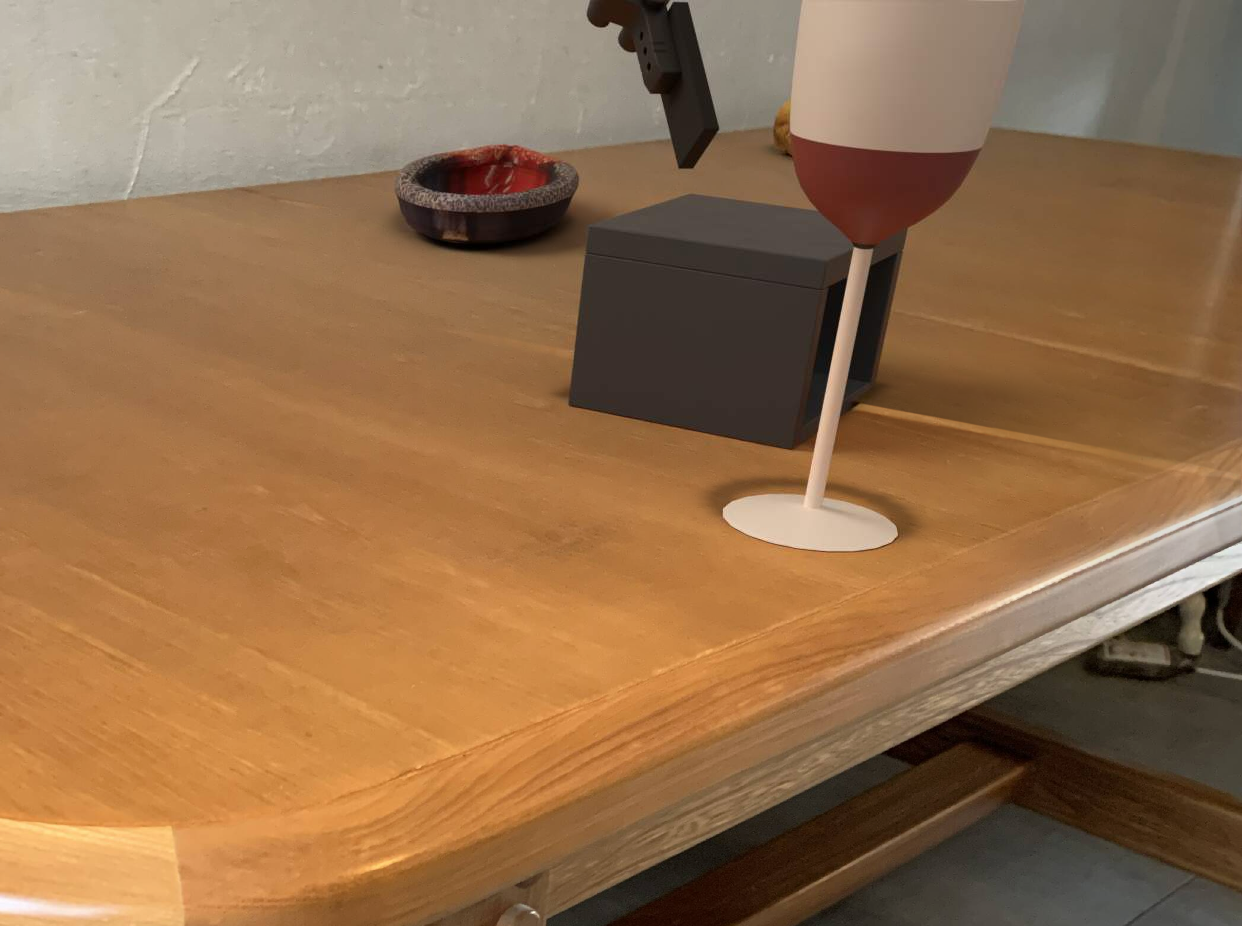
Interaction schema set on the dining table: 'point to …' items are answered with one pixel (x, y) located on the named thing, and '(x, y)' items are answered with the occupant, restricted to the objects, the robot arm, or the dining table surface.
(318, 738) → the dining table surface
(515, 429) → the dining table surface
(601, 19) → the robot arm
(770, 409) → the shelf
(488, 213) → the dish
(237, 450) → the dining table surface
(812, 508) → the wineglass
